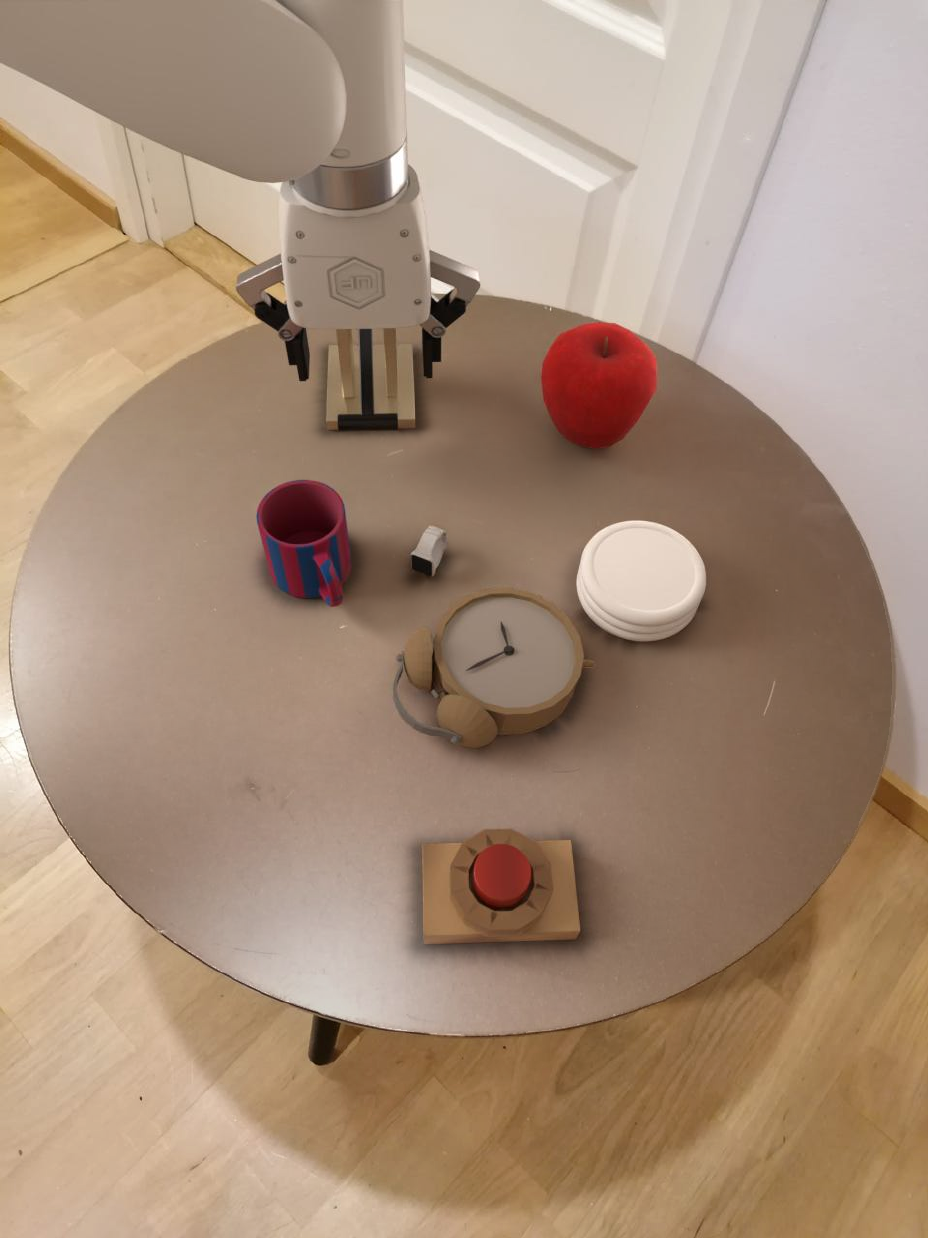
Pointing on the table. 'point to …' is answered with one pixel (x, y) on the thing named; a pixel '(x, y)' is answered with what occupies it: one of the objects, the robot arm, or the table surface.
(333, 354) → the bracket
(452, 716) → the alarm clock
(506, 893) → the button
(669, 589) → the coaster
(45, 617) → the table surface
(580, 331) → the apple
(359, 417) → the lever
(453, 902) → the button block
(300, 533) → the mug
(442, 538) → the smartwatch
